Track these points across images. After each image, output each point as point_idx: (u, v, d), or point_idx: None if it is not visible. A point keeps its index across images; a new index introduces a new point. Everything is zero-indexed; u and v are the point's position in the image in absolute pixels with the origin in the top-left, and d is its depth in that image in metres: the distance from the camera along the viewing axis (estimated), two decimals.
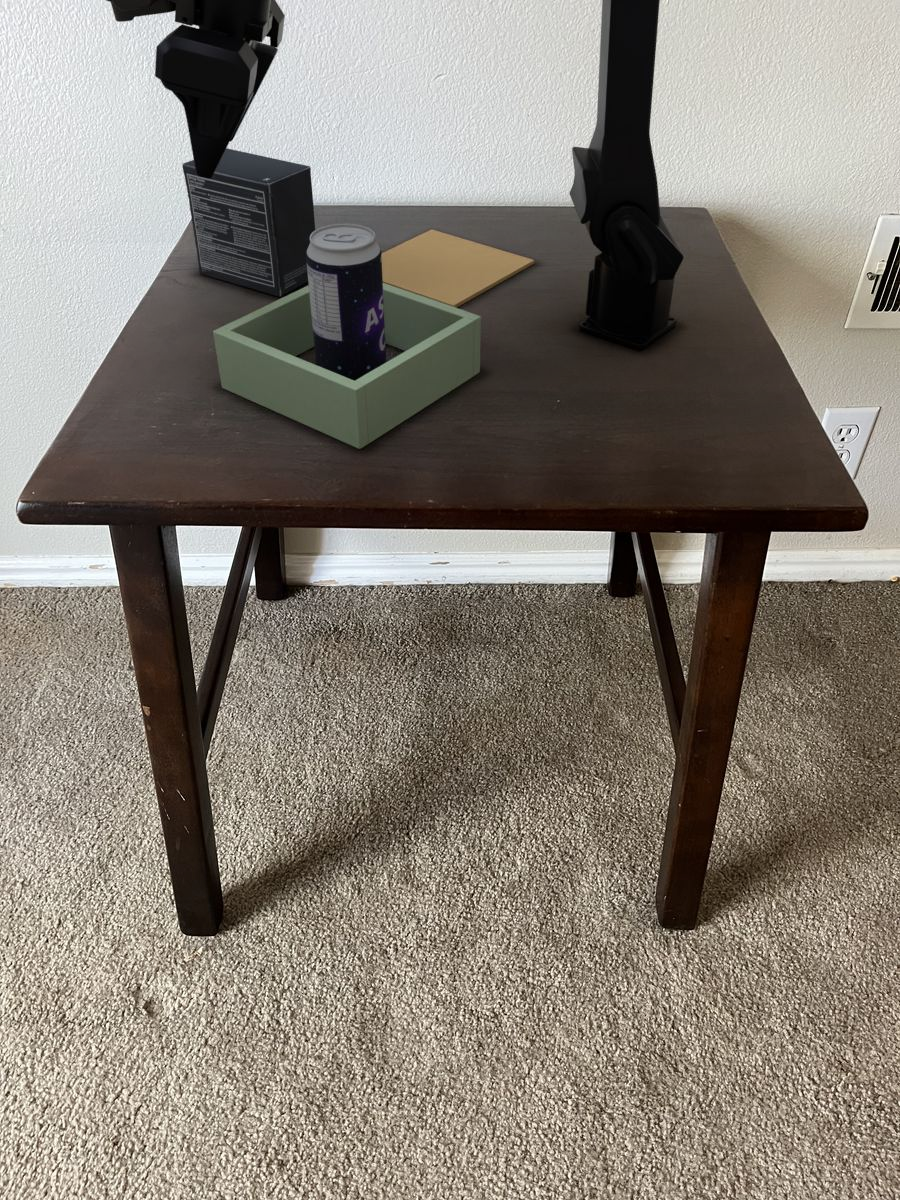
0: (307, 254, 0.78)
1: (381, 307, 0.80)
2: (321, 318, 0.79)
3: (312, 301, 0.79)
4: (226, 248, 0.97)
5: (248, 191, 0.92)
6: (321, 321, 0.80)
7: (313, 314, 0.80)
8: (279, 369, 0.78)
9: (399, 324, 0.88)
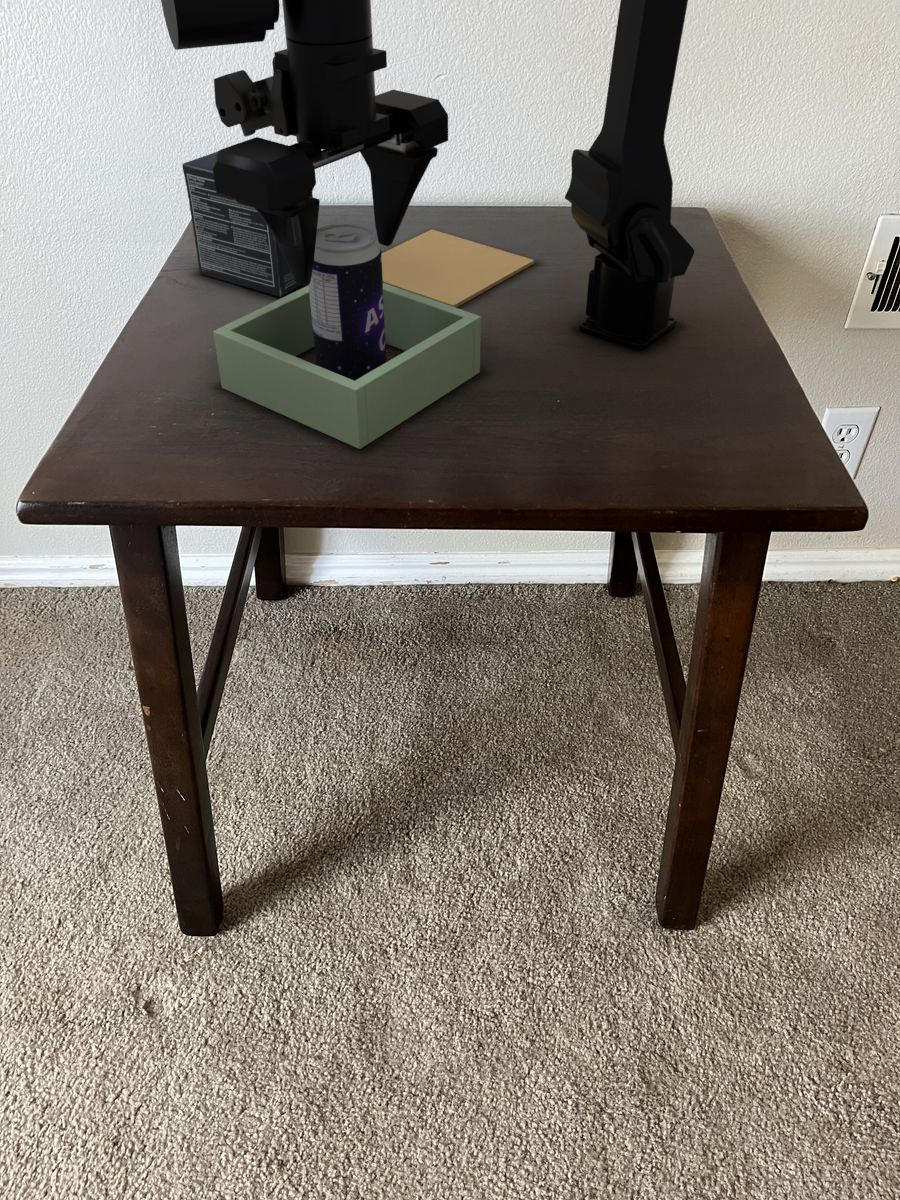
0: None
1: (381, 307, 0.80)
2: (321, 318, 0.79)
3: (312, 301, 0.79)
4: (226, 248, 0.97)
5: None
6: (321, 321, 0.80)
7: (313, 314, 0.80)
8: (279, 369, 0.78)
9: (399, 324, 0.88)
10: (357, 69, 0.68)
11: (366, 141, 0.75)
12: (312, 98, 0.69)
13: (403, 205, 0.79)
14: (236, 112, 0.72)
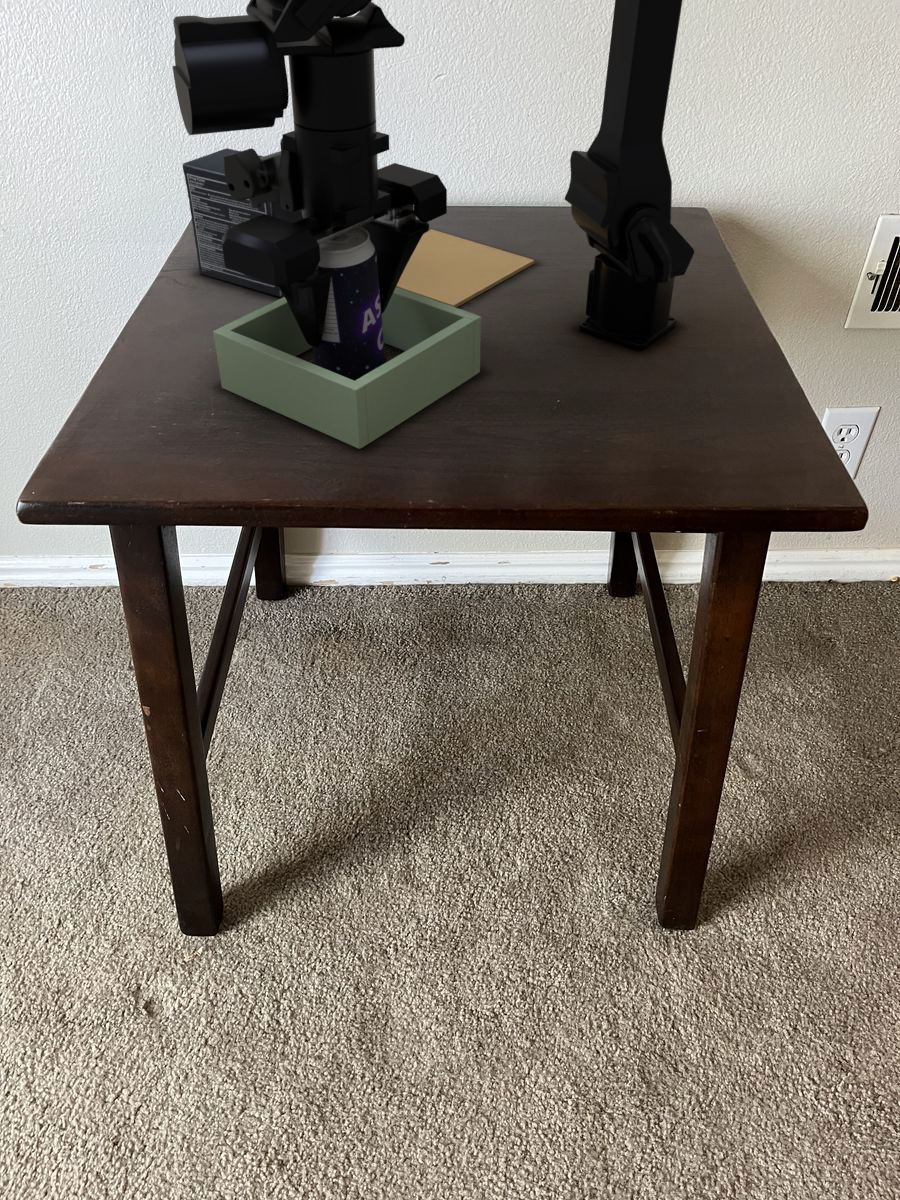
0: None
1: (378, 307, 0.80)
2: None
3: None
4: None
5: None
6: None
7: None
8: (279, 369, 0.78)
9: (399, 324, 0.88)
10: (361, 153, 0.71)
11: None
12: (318, 179, 0.72)
13: (395, 277, 0.82)
14: (244, 188, 0.75)
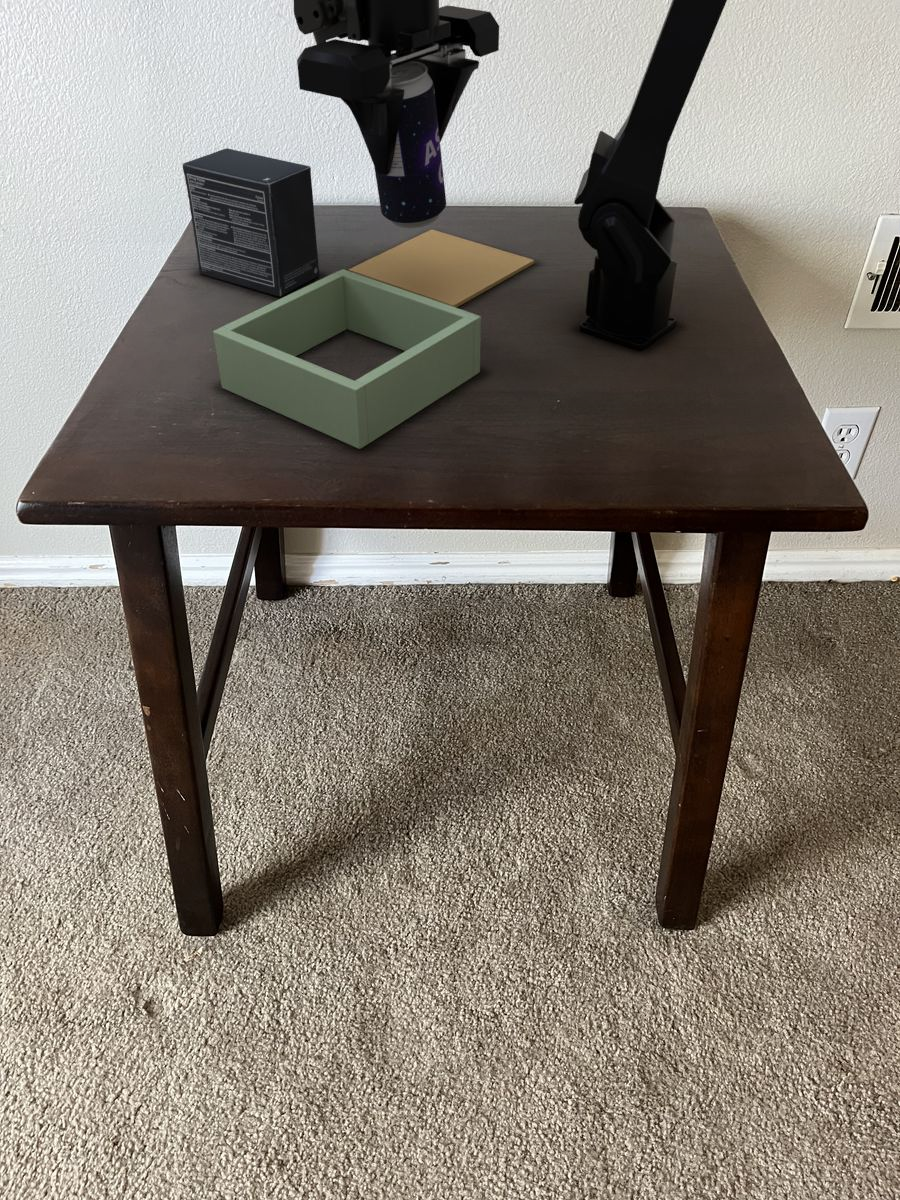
0: None
1: (437, 139, 0.85)
2: None
3: None
4: (226, 248, 0.97)
5: (248, 191, 0.92)
6: None
7: None
8: (279, 369, 0.78)
9: (399, 324, 0.88)
10: None
11: None
12: (385, 3, 0.77)
13: (447, 114, 0.86)
14: (313, 19, 0.80)
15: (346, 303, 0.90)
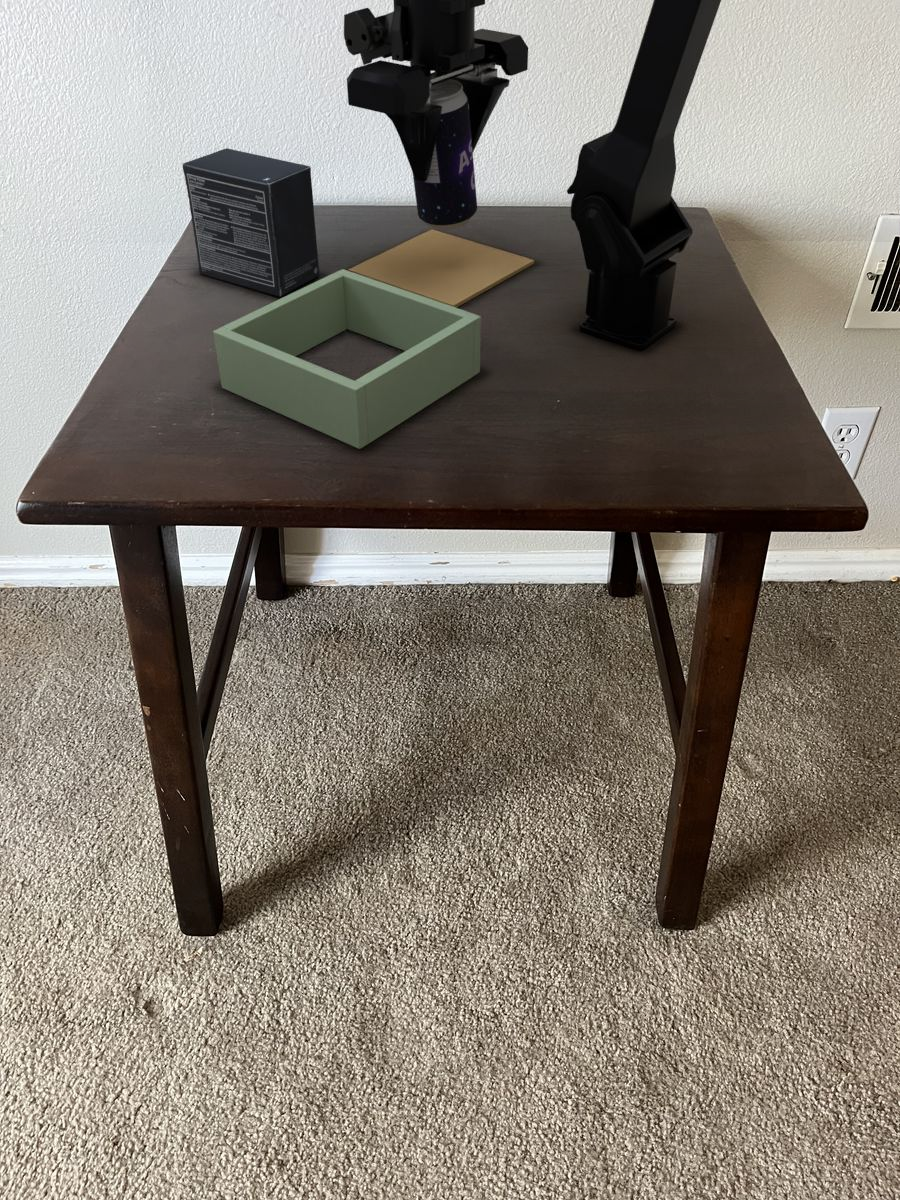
0: None
1: (471, 150, 0.94)
2: None
3: None
4: (226, 248, 0.97)
5: (248, 191, 0.92)
6: None
7: None
8: (279, 369, 0.78)
9: (399, 324, 0.88)
10: (464, 4, 0.85)
11: None
12: (427, 28, 0.86)
13: (480, 127, 0.95)
14: (361, 42, 0.89)
15: (346, 303, 0.90)
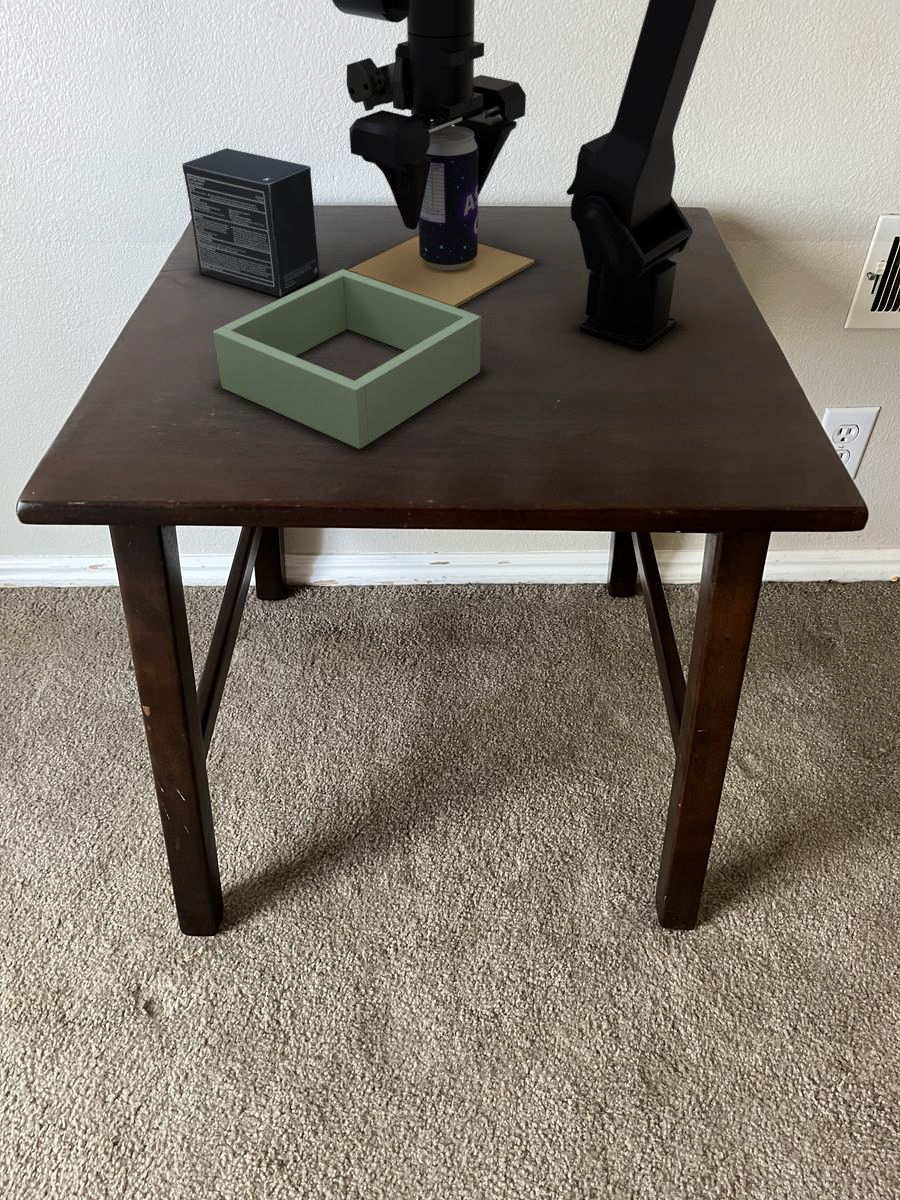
0: None
1: (476, 195, 0.97)
2: (428, 204, 0.96)
3: None
4: (226, 248, 0.97)
5: (248, 191, 0.92)
6: (427, 206, 0.96)
7: None
8: (279, 369, 0.78)
9: (399, 324, 0.88)
10: (463, 57, 0.88)
11: (462, 115, 0.94)
12: (427, 80, 0.89)
13: (488, 167, 0.99)
14: (364, 91, 0.91)
15: (346, 303, 0.90)
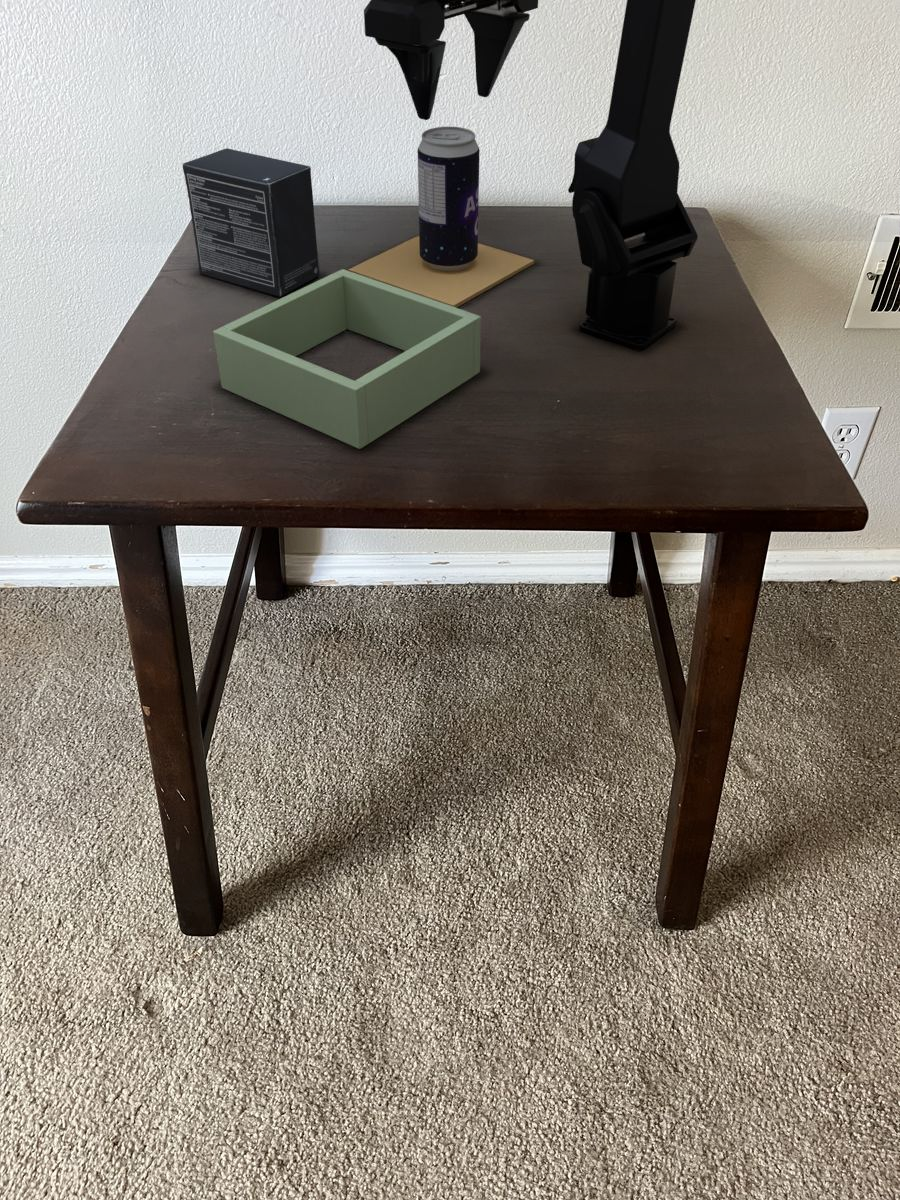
0: (419, 150, 0.94)
1: (477, 196, 0.97)
2: (429, 205, 0.96)
3: (421, 190, 0.96)
4: (226, 248, 0.97)
5: (248, 191, 0.92)
6: (428, 207, 0.96)
7: (421, 202, 0.97)
8: (279, 369, 0.78)
9: (399, 324, 0.88)
10: None
11: (476, 4, 0.94)
12: None
13: (501, 61, 0.98)
14: None
15: (346, 303, 0.90)
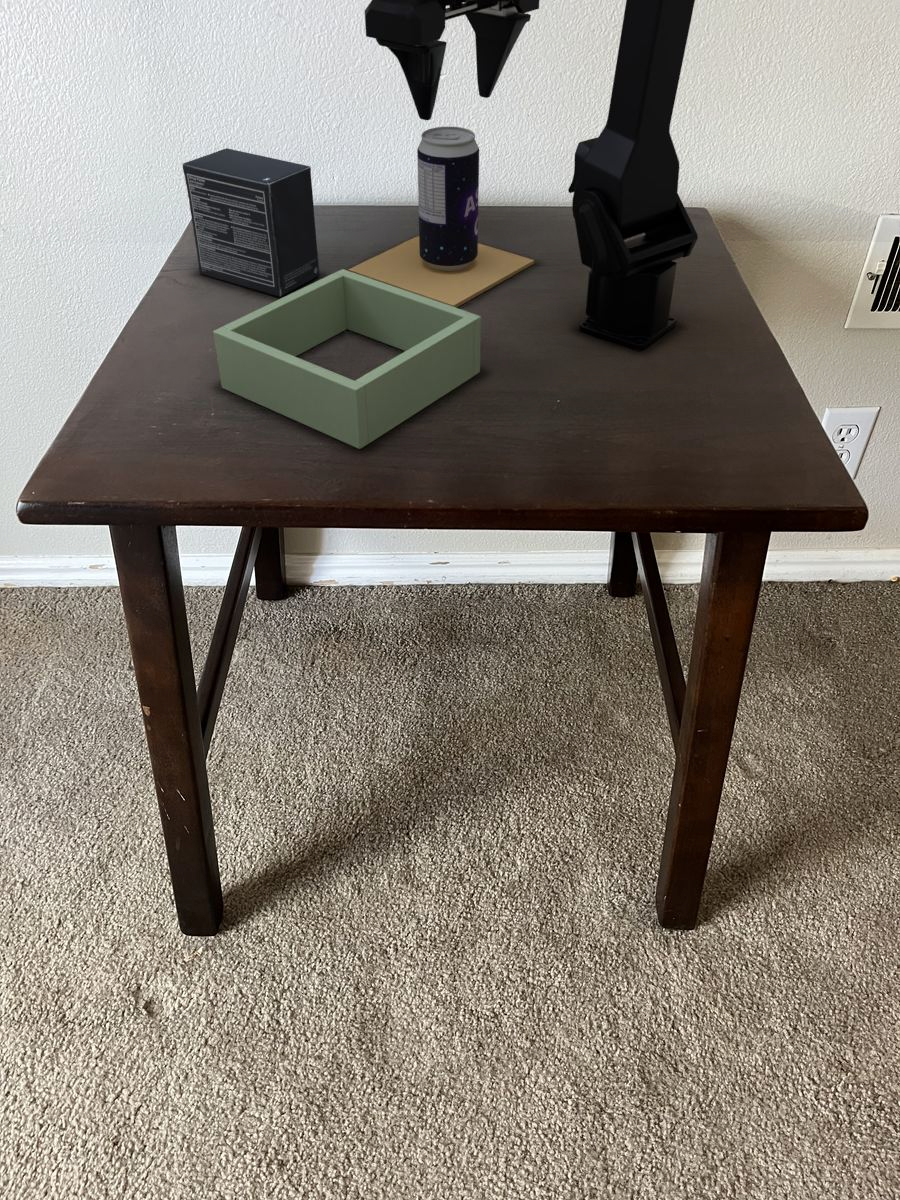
0: (419, 150, 0.94)
1: (477, 196, 0.97)
2: (428, 205, 0.96)
3: (421, 190, 0.96)
4: (226, 248, 0.97)
5: (248, 191, 0.92)
6: (428, 207, 0.96)
7: (421, 202, 0.97)
8: (279, 369, 0.78)
9: (399, 324, 0.88)
10: None
11: (477, 4, 0.94)
12: None
13: (502, 61, 0.99)
14: None
15: (346, 303, 0.90)
